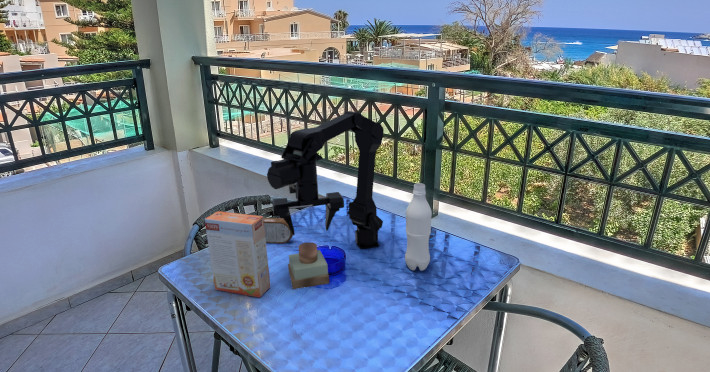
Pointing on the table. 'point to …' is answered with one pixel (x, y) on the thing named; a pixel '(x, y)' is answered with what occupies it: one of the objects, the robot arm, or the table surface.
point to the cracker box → (238, 253)
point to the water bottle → (418, 229)
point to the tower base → (307, 280)
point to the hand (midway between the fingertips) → (310, 232)
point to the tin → (277, 230)
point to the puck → (307, 252)
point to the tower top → (308, 267)
